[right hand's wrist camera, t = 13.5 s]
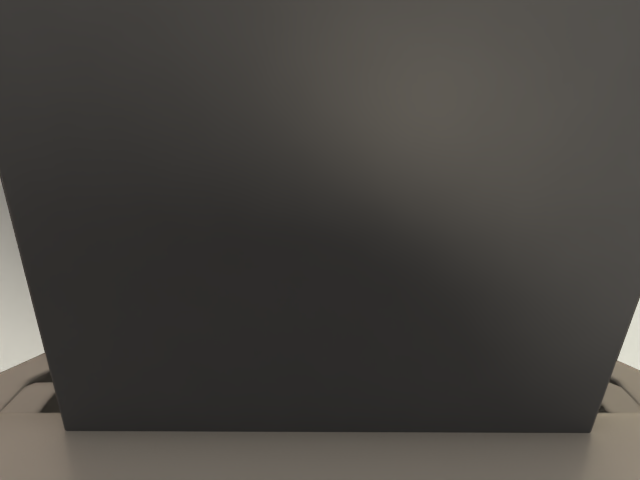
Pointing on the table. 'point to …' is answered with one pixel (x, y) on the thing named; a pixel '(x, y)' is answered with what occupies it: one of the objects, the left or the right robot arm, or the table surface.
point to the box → (325, 209)
